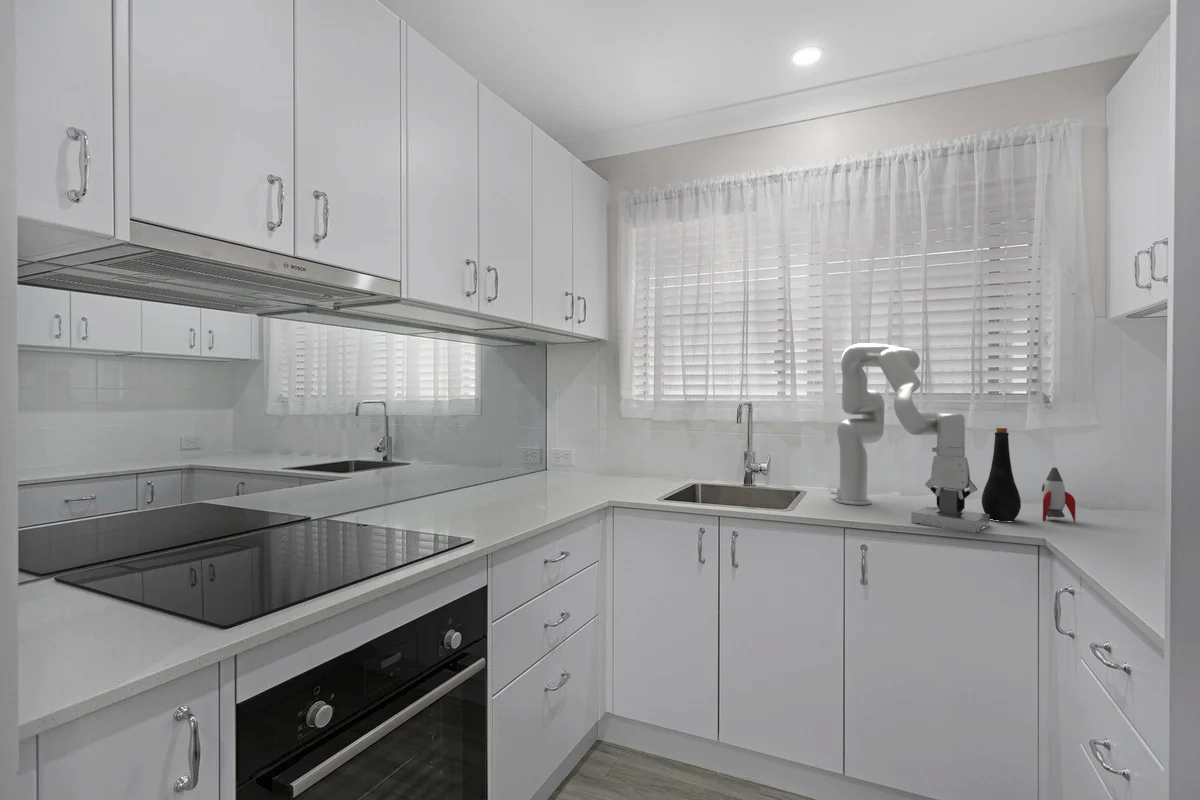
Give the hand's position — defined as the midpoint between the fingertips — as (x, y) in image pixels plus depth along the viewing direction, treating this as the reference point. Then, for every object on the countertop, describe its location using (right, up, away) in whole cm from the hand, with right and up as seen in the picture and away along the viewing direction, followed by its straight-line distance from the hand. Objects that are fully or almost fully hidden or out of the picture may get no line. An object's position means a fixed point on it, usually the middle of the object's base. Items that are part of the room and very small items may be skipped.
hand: (950, 509), depth 186 cm
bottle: (+20, -5, +6) cm, 22 cm away
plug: (+1, -2, +1) cm, 2 cm away
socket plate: (0, -5, 0) cm, 5 cm away
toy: (+37, -5, +4) cm, 37 cm away
